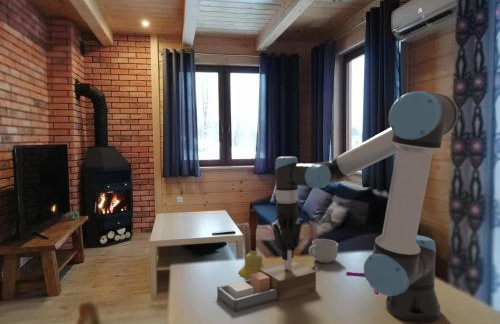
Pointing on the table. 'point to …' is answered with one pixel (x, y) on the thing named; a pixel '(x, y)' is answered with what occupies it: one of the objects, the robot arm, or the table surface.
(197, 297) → the table surface
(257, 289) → the tile rear
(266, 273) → the wooden block
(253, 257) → the handbell
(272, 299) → the tray
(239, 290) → the white square block
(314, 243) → the teacup
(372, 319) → the table surface
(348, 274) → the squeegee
